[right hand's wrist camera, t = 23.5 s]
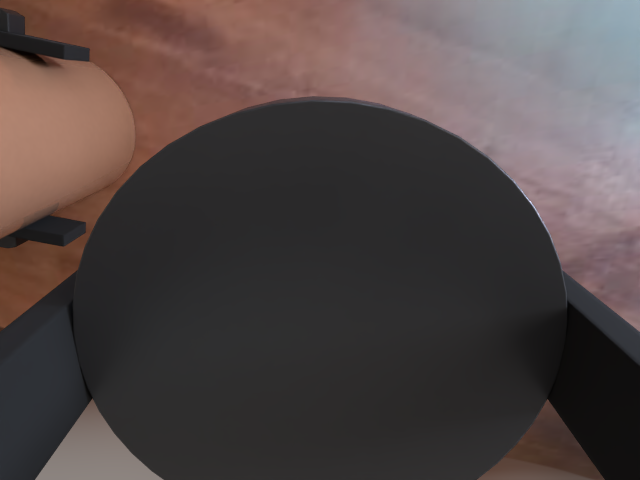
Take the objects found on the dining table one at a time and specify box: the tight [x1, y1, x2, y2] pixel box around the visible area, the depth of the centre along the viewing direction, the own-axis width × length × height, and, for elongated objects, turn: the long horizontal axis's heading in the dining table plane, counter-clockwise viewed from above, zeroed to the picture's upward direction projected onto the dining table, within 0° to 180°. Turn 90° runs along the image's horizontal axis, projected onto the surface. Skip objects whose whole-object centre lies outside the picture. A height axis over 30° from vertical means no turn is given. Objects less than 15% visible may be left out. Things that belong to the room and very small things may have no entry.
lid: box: [72, 96, 568, 480], centre depth 11 cm, size 11×11×2 cm
